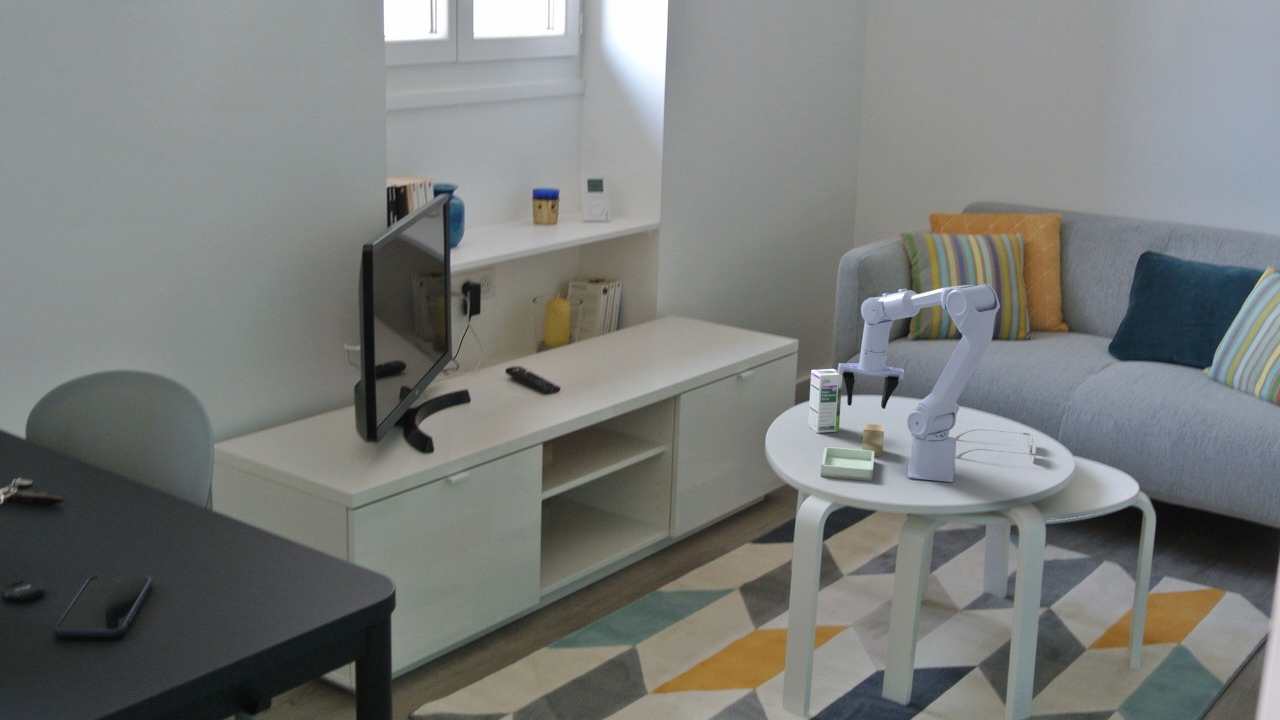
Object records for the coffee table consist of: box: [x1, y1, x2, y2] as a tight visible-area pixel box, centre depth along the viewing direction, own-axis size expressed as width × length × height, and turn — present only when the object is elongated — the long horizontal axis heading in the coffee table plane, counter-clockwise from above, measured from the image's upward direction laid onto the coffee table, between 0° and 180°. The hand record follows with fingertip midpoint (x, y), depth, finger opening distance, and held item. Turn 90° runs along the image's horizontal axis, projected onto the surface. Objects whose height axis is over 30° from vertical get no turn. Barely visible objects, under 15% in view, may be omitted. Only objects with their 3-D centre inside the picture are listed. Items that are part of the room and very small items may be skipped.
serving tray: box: [820, 446, 875, 482], centre depth 277 cm, size 11×13×2 cm
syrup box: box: [807, 368, 843, 434], centre depth 303 cm, size 6×6×14 cm
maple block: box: [861, 423, 885, 457], centre depth 288 cm, size 4×4×6 cm
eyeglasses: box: [953, 428, 1037, 464], centre depth 291 cm, size 15×18×4 cm
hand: (866, 405), depth 287 cm, fingers open, 7 cm apart
